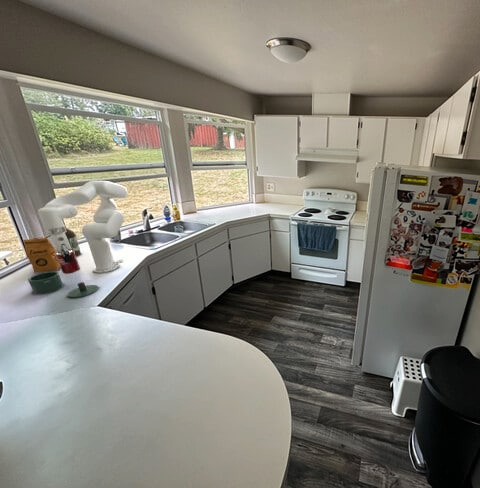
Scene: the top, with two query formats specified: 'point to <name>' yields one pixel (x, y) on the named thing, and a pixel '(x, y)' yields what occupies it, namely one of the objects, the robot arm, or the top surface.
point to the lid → (83, 290)
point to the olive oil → (73, 241)
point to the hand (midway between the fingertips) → (67, 259)
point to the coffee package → (41, 255)
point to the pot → (45, 282)
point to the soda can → (70, 266)
